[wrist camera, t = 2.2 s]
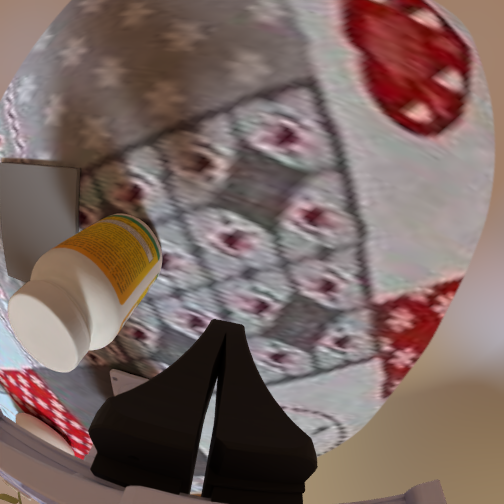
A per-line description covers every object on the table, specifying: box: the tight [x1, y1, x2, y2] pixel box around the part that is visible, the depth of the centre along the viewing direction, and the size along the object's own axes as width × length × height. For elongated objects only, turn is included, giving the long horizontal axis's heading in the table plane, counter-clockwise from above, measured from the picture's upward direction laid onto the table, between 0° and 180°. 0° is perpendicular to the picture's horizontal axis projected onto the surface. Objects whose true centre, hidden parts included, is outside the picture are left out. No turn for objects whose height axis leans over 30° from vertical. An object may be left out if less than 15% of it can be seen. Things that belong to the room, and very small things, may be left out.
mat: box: [0, 162, 80, 283], centre depth 17 cm, size 10×9×1 cm
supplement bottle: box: [8, 213, 162, 372], centre depth 13 cm, size 5×5×10 cm
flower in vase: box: [0, 413, 74, 504], centre depth 19 cm, size 13×11×25 cm
